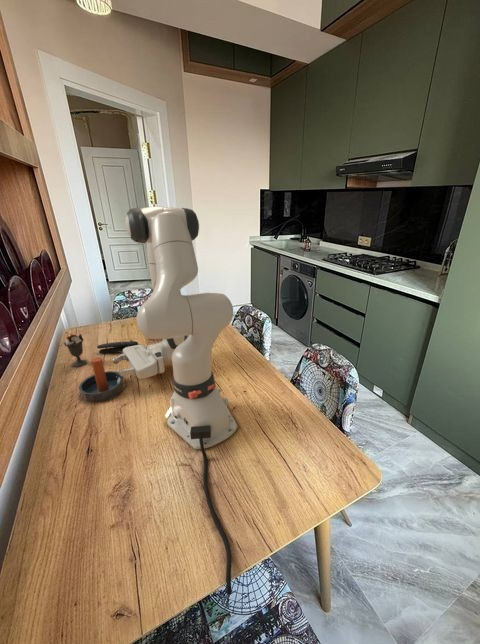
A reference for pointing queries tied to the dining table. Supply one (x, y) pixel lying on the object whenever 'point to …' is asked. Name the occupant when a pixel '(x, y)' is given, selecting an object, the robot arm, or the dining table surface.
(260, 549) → the dining table surface
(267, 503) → the dining table surface
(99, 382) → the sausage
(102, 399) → the dish
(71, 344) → the sundae
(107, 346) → the can opener
